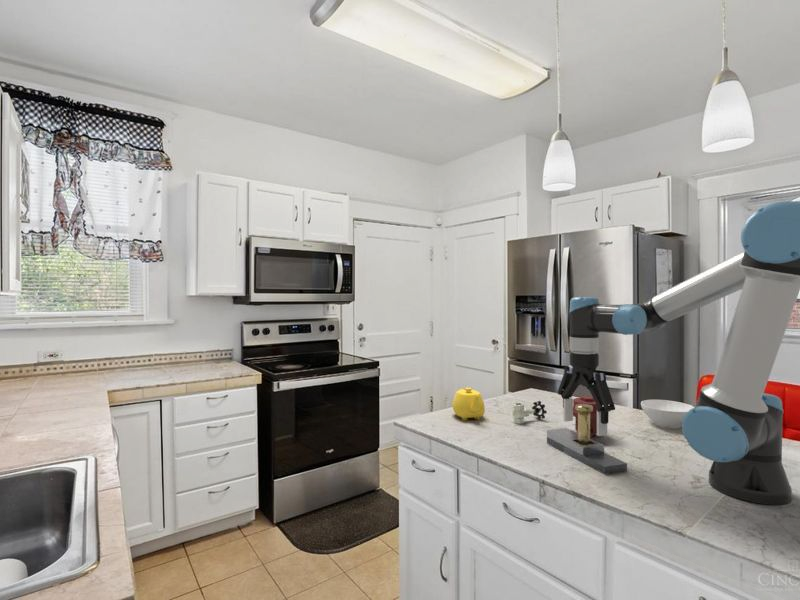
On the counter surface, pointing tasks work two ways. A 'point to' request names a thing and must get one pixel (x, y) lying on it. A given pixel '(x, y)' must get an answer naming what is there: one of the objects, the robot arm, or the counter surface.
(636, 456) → the counter surface
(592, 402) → the mechanical component
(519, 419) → the valve
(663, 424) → the bowl
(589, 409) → the brass knob
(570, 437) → the plate with square socket
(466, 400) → the teapot
